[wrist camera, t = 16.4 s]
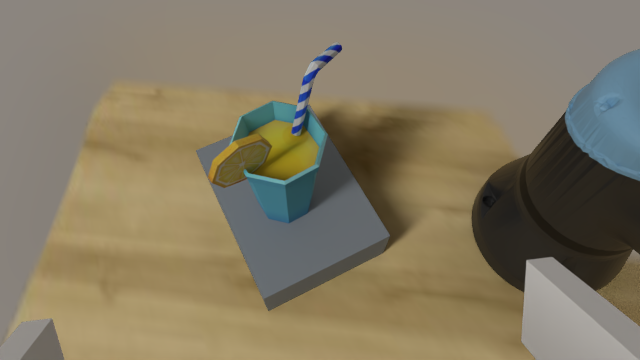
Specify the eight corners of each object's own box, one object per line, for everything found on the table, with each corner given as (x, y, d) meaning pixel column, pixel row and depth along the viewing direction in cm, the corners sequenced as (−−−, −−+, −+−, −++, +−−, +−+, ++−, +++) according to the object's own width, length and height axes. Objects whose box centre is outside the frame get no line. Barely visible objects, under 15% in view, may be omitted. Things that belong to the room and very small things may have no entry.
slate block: (309, 129, 55) (309, 104, 51) (383, 252, 48) (390, 235, 44) (205, 173, 52) (195, 150, 48) (268, 311, 45) (263, 299, 41)
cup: (301, 124, 49) (297, 14, 36) (363, 161, 47) (382, 60, 34) (213, 223, 44) (170, 138, 31) (278, 270, 42) (262, 200, 29)
